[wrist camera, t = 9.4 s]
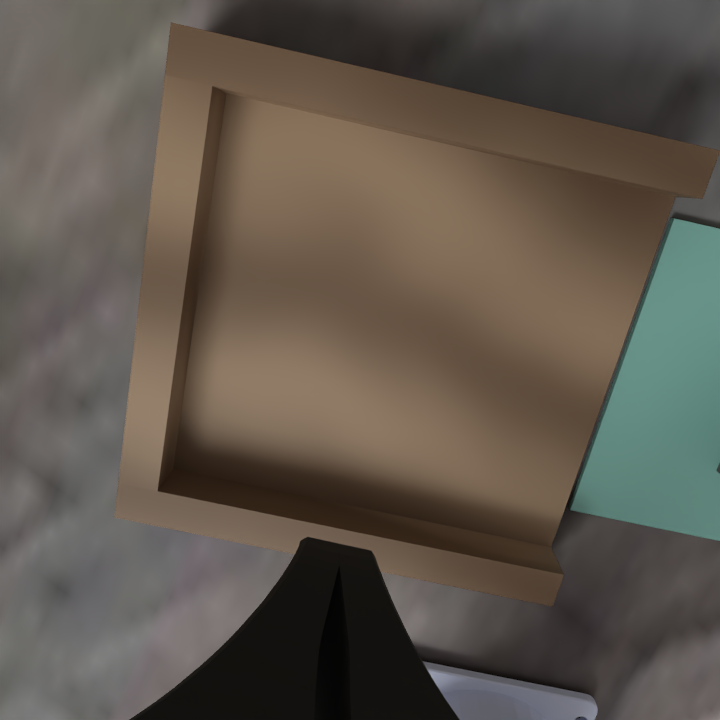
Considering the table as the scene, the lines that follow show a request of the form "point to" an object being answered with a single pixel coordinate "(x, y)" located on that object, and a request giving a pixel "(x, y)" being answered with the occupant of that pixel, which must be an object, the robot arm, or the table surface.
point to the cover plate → (665, 400)
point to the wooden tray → (381, 311)
